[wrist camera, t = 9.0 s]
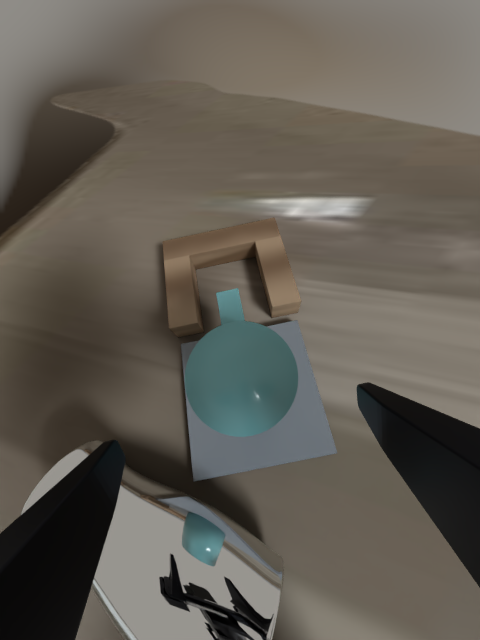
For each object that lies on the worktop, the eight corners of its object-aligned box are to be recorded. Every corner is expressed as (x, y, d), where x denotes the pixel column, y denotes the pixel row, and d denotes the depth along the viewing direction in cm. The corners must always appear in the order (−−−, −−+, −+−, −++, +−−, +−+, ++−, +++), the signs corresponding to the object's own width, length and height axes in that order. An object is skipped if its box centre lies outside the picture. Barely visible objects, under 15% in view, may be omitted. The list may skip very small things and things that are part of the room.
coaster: (333, 451, 19) (337, 453, 18) (196, 478, 19) (193, 481, 18) (295, 324, 23) (297, 320, 23) (184, 347, 24) (180, 344, 23)
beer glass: (-25, 548, 13) (228, 810, 9) (82, 422, 16) (294, 564, 12) (56, 534, 18) (232, 690, 14) (122, 443, 22) (277, 545, 18)
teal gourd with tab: (289, 421, 19) (313, 423, 10) (225, 434, 19) (190, 447, 10) (266, 325, 23) (268, 261, 13) (211, 337, 23) (175, 280, 13)
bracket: (297, 312, 24) (301, 300, 22) (178, 337, 24) (168, 328, 22) (273, 234, 28) (274, 217, 25) (171, 256, 28) (162, 241, 26)
